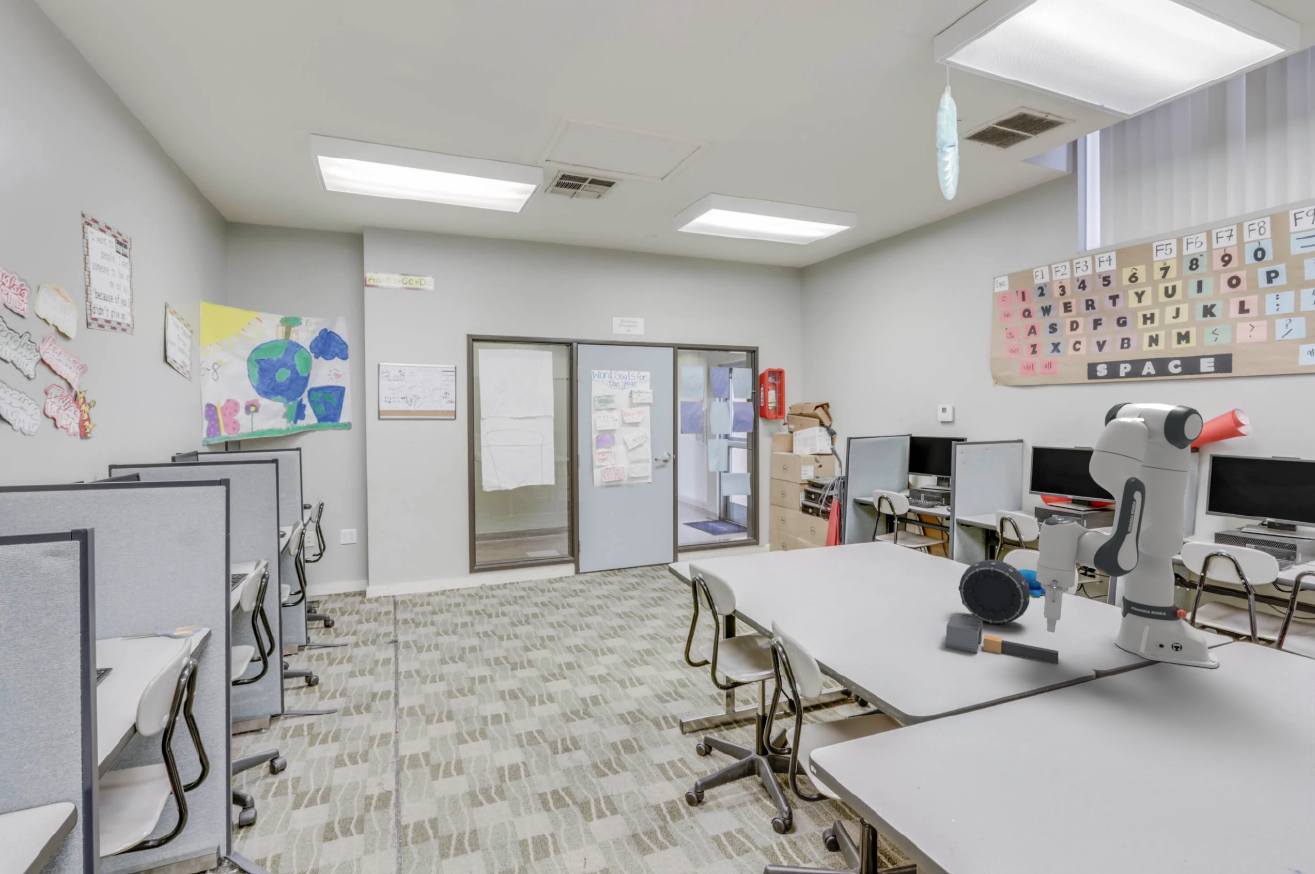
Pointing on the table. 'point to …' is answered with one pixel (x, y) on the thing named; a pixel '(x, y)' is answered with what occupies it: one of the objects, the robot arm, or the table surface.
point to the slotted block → (964, 633)
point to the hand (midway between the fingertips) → (1051, 626)
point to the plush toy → (1033, 583)
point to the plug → (1019, 649)
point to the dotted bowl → (994, 591)
